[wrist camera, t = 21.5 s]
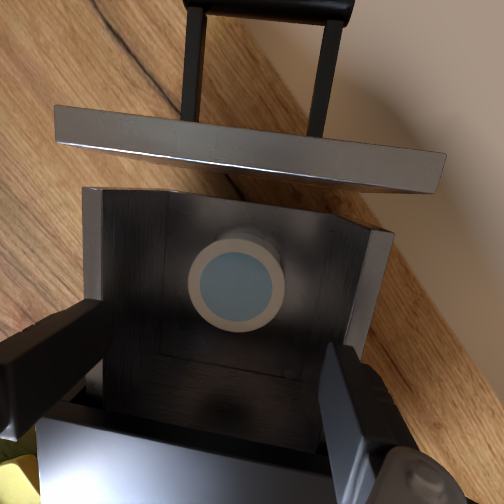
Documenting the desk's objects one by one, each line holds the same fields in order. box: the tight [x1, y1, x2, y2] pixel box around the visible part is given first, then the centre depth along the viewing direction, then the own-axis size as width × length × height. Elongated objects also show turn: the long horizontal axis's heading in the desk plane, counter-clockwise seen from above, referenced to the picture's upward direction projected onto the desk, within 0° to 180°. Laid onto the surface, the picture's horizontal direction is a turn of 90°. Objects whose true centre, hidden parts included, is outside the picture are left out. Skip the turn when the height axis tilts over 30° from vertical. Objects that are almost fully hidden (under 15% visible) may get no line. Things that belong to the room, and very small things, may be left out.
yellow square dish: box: [0, 454, 41, 504], centre depth 24 cm, size 9×9×2 cm
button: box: [188, 233, 286, 332], centre depth 14 cm, size 5×5×2 cm
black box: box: [35, 375, 337, 504], centre depth 16 cm, size 15×14×9 cm
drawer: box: [54, 0, 447, 457], centre depth 12 cm, size 20×12×7 cm, turn 172°
